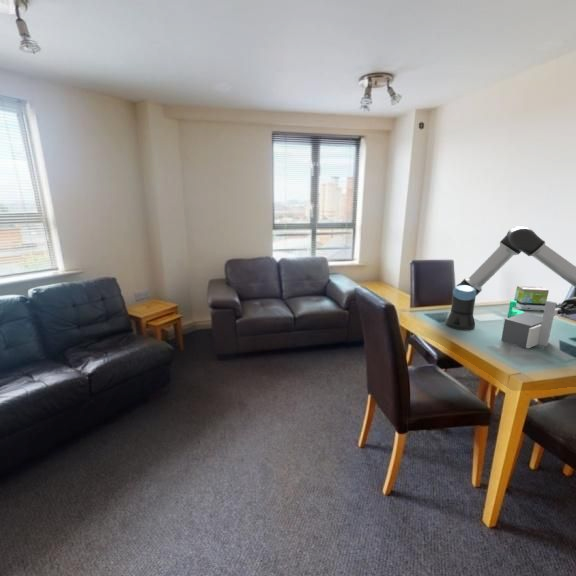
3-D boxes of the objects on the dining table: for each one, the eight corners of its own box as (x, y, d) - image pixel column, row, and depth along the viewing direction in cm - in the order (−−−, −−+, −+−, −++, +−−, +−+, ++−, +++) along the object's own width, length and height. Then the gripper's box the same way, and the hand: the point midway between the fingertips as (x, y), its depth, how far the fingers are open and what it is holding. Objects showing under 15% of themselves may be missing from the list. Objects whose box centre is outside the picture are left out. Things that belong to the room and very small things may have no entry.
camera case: (527, 348, 158) (531, 326, 155) (501, 340, 168) (504, 318, 165) (546, 340, 168) (550, 318, 165) (520, 332, 178) (524, 312, 175)
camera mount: (522, 320, 198) (525, 304, 195) (507, 317, 202) (510, 302, 200) (522, 315, 207) (525, 299, 204) (508, 312, 212) (511, 298, 209)
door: (537, 351, 152) (546, 306, 147) (525, 347, 156) (534, 303, 151) (547, 346, 157) (556, 302, 152) (536, 342, 161) (544, 300, 156)
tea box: (520, 310, 217) (524, 289, 213) (512, 305, 226) (516, 285, 223) (545, 311, 214) (549, 289, 210) (536, 306, 224) (540, 286, 220)
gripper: (587, 315, 161) (567, 324, 149) (556, 308, 172) (535, 316, 160) (591, 301, 159) (571, 309, 147) (559, 295, 170) (538, 302, 158)
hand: (552, 313), depth 154 cm, fingers closed
